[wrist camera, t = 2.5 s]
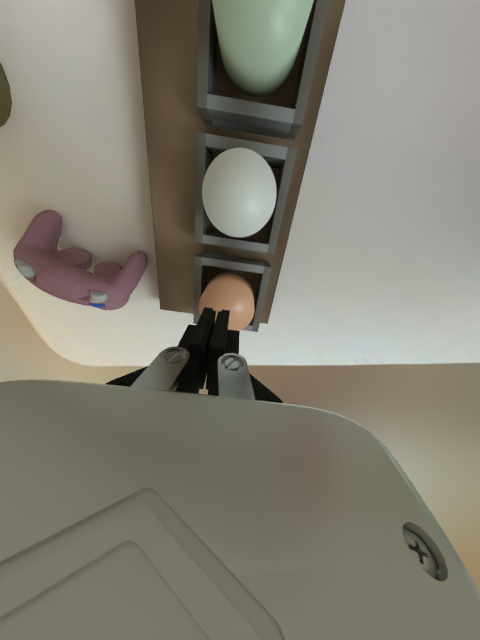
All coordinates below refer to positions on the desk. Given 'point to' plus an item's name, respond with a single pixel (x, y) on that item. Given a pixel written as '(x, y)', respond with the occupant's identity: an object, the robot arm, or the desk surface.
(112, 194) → the desk surface
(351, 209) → the desk surface
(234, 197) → the white egg
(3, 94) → the olive green skittle
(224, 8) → the pale green egg
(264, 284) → the board
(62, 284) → the video game controller
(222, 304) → the brown egg
